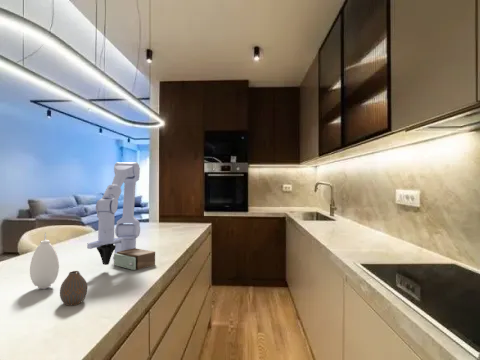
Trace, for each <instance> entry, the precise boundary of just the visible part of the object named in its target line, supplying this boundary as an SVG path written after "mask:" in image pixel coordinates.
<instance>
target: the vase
mask: <svg viewBox="0 0 480 360" xmlns="http://www.w3.org/2000/svg"><path fill="white" fill-rule="evenodd" d="M87 283H88V282H87V281H86V278H84V277H83V275H82V274H81V273H80V271H79V270H73V271H69V272H68V275H67V276H66V277H65V278H64V280H63V281H62V282H61V286H60V288H59V297H60V300H61V303H63V304H65V305H66V306H76V305H79V304H81V303H82V302H83V301H84V300H85V298H86V296H87V294H88V284H87Z"/></svg>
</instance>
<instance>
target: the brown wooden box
mask: <svg viewBox="0 0 480 360" xmlns="http://www.w3.org/2000/svg"><path fill="white" fill-rule="evenodd" d="M117 254H121V255H126V256H130V257H134V258H136V270H139V271H140V270H141V269H145V268H148V267H152V266H155V265H156V251H153V250H147V249H142V248H137V247H136V248H133V249H128V250H124V251H119V252H117Z"/></svg>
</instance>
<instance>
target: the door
mask: <svg viewBox="0 0 480 360" xmlns="http://www.w3.org/2000/svg"><path fill="white" fill-rule="evenodd" d="M113 256H114V258H113V259H114V260H113V265H114V266H116V267H119V268H120V267H121V268H125V269H128V270H132V271H135V270H137V269H136V258H134V257H130V256H126V255H121V254H117V253H115V254H114V253H113Z"/></svg>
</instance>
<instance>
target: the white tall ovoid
mask: <svg viewBox="0 0 480 360" xmlns="http://www.w3.org/2000/svg"><path fill="white" fill-rule="evenodd" d="M43 238H44V239H43V240H41V241H40V243H39V245H38V246H37V247H36V249H35V251H34V252H33V255H32V257H31V260H30V265H29V276H30V280H31V282H32V284H33V285H34V286H35V287H37V288H38V289H41V290H45V289H48V288H49V287H51V286H52V284H54V283H55V282H56V281H57V278H58V275H59V271H60V269H59V268H60V264H59V257H58V254H57V253H58V252H57V251H56V250H55V248H54V246H53V245H52V244H51V243H50V242H51V240H49V239H47V233H46V232H44V237H43Z"/></svg>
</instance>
